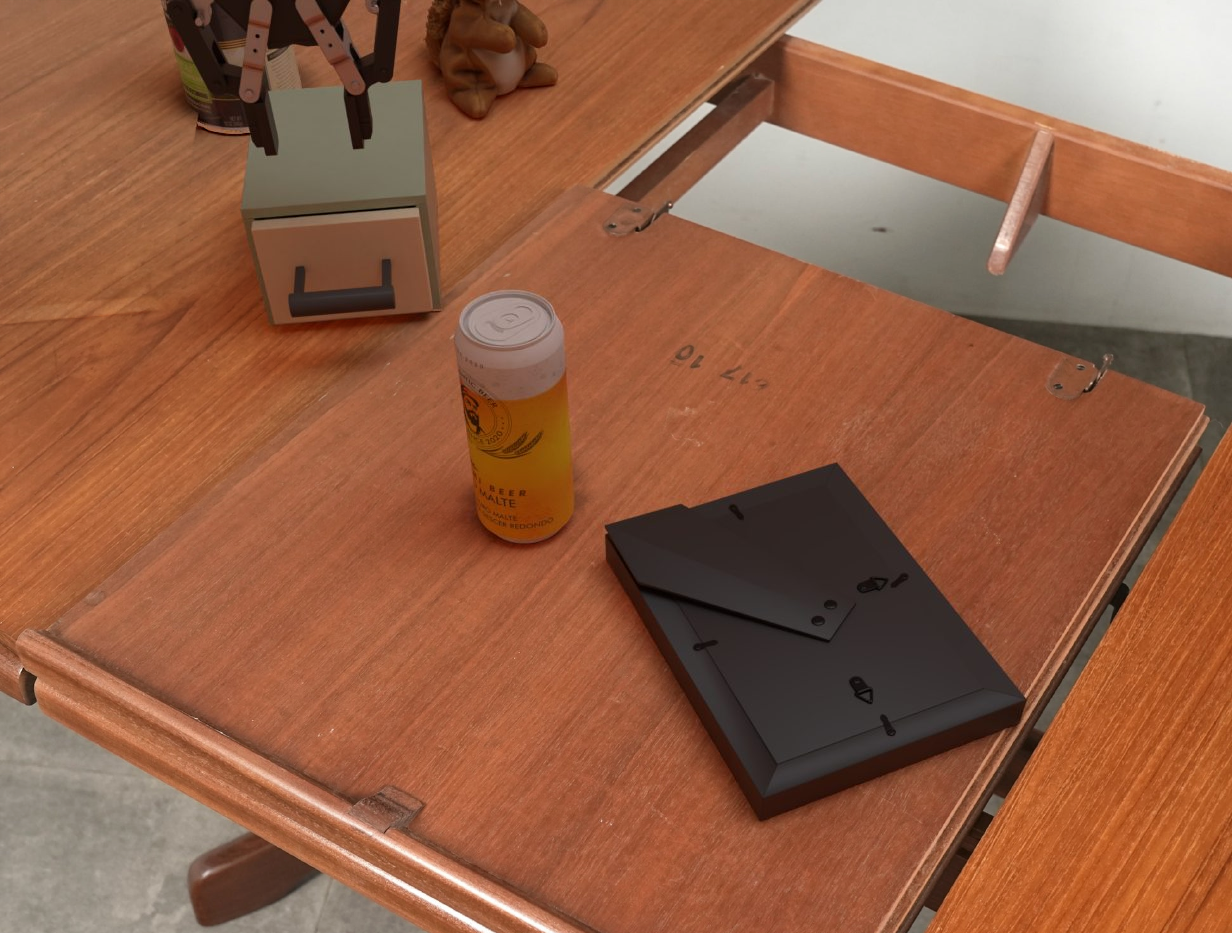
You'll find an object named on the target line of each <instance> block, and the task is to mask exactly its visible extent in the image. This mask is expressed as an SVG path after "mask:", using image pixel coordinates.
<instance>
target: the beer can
mask: <svg viewBox="0 0 1232 933" xmlns="http://www.w3.org/2000/svg"><path fill="white" fill-rule="evenodd" d="M453 342H454V348H455V357H456V364H457V371H458V378H459V379H458V380H459V385H460V386H459V387H460V393H461V400H462V409H463V415H464V422H465V423H464V424H465V430H466V438H467V444H468V445H467V446H468V453H469V460H470V466H471V467H470V468H471V472H472V482H473V489H474V496H475V503H476V512H477V517H478V518H479V521H480V523H481V524H482V525H483V526H484V528H486V529H487V530H488V531H490V532H491V533H493V534H494V535H495V536H497V537H499V538H500V539H502V540H504V541H507V542H510V543H515V544H533V543H538V542H542V541H544V540H547V539H550V538H551V537H553V536H554V535H556V534H557V533H558V532H559V531H560V530H561V529H562V528H563V527H565V525H566V524H568V522H569V521H570V519H571V518H572V515H573V514H574V512H575V488H574V476H573V475H574V474H573V473H574V472H573V459H572V458H573V457H572V442H571V425H570V410H569V408H570V407H569V395H568V394H569V392H568V380H567V379H568V378H567V362H566V344H565V330H564V326H563V324H562V322H561V320H560V319H559V318H558V316H557V314H556V311H555V309H554V307H553V305H552V304H551V303H550V301H549V300H547V299H546V298H544V297H543V296H542V295H539V294H536V293H534V292H531V291H527V290H520V289H501V290H494V291H491V292H487V293H484V294H482V295H480V296H478V297H475V298H474V299H472V300H471V301H470V302H468V303H467V304H466V305H465V306H464V307H463V309H462V311H461V313H460V315H459V319H458V324H457V326H456V328H455V332H454V335H453Z"/></svg>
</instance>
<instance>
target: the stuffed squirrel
mask: <svg viewBox="0 0 1232 933" xmlns="http://www.w3.org/2000/svg"><path fill="white" fill-rule="evenodd" d="M427 11H428V12H427V13H428V15H426V19H427V21H426V22H425V28H426V30H425V32H426V35H425V37H424V38H423V39H422V41H423V42H425V45H426V46H425V47H426V49H427V51H428V54H429V56H430V59H429V60H430V61H431V62H432V63H434V65H435V66H436V67H437V69H439V70H440V71H441V74H442V77H443V81H444V86H445V89H446V92H447V95H448V97H449V98H450V100H451V101H452V102H453V104H454V105H455V106H456V107H457V108H459V109H460V110H461V111H462V112H464V113H466V114H467V115H469V117H470V116H471V117H472V118H474V119H478V118H484V117H485V116H486V115H487V113H489V110H490V109H491V106H492V104H493V103H494V101H495V99H496V97H497V96H503V95H505V94H506V95H507V94H508V93H511V92H512V91H514V90H516V88H517V86H518V87H521V88H527V87H528V88H529V87H540V86H541V87H542V86H549V85H550V86H551V85H555V84H557V81H558V78H559V72H558V70H557V69H556V68H555V67H554V66H552V65H550V64H549V63H545V62H537V60H538V53H537V50H536V49H538V50H539V49H541V48H543V47H546V46H547V44H548V40H549V35H548V34H549V33H548V29H547V26H546V25H545V23H544V22H543V21H542V19H541V18H539V16H537V15H536V14H535V13H534V12H532V11H531V9H529V8H528V7H527V6H526V5H524V4H523V3H522V2H519V1H518V0H433V1H431V6H430V7H429V8H427Z"/></svg>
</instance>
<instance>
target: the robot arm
mask: <svg viewBox="0 0 1232 933" xmlns="http://www.w3.org/2000/svg"><path fill="white" fill-rule="evenodd" d="M350 1H351V0H168V4H167V13H168V15H169V17H170V19H171V21H172V23H173V24H174V26H175V28H176V30H177V32H178V34H179V36H180V38H181V39H182V41H183V43H184V45H185V47H186V49H187V51H188V53H189V55H190V56H191V58H192V60H193V62H194V64H195V66H196V68H197V70H198V71H199V73H200V75H201V77H202V79H203V81H204V83H205V85H206V87H207V88H208V90H209V91H210V92H211V93H212V94H215V95H222V94H224V93H227V94H231V95H234V96H236V97H238V98H239V99H240V100H241V101H242V103H243V106H244V110H245V114H246V118H247V123H248V127H249V131H250V134H249V136H250V135H251V139H252V142H253V143H254V145H255V146H256V147H257V148H261V147H264V151H265V155H266V156H275V155H278V147H279V140H278V133H277V129H276V124H275V120H274V115H273V111H272V106H271V102H270V97H269V93H268V88H267V86H263V84H262V75H263V69H264V62H265V56H266V49H267V47H268V50H269V49H281V48H284V47H287V46H290V45H296V46H303V47H319V49H320V51H321V52H322V54H323V55H324V57H325V59H326V60H327V63H328V64H329V65H330V66H332V67H333V68H334V70H335V72H336V74H337V76H338V77H339V79H340V82H342V85H344V103H345V108H346V114H347V119H348V125H349V131H350V136H351V142H352V147H353V150H356V149H364V140H367V139H371V136H372V132H373V119H372V113H371V107H370V100H369V94H368V89H369V87H370V86H372V85H373V84H375V83H387V82H392V79H393V77H394V70H395V62H396V61H395V60H396V53H397V42H398V33H399V25H400V24H399V23H400V16H401V15H400V14H401V8H402V7H401V5H402V0H364V1H365V2H364V3H365V8H366V10H367V11H368V12H369V13H370V14H372V15H375V16H376V23H375V34H374V42H373V52H370V53H369V54H366V55H364V56H361V54H360V53H359V51H358V48H357V47H356V45H355V44H354V42H353V39H352V36H351V33H350V30H349V29H348V27H347V25H346V23H345V22H344V20H343V18H342V17H343V15H344V13H345V11H346V9H347V8H348V5H349V3H350ZM213 2H215V3H216V4H217V5H218V6H219V7H220V8H222V9H223V10H224V11H225V12H226V13H227V14H228V15H229V16H230V17H231V18H232V19H233V20H234V21H235V22H236V23H237V24H238V25H239V26H240V27H241V28H242V29H243V30H244V31H245V32H246V33H247V37H246V44H245V52H244V59H243V66H242V67H240V66H236V65H232V64H229V63H228V61H227V59H226V57H225V55H224V53H223V51H222V49H221V47H220V45H219V43H218V41H217V39H216V37H215V35H214V33H213V31H212V29H211V28H210V26H209V23H210V20H211V14H212V9H211V6H210V5H211V3H213Z"/></svg>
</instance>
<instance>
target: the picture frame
mask: <svg viewBox="0 0 1232 933" xmlns="http://www.w3.org/2000/svg"><path fill="white" fill-rule="evenodd" d="M604 529H605V531H606V533H605V534H604V546H605V559H606V561H607V563H608V564H609V566H610V568H611V569H612V571H613V573H614V574H615V576H616V578H617V580H618V581H619V583H620V585H621V586H622V588H623V590H624V592H625V593H626V595H627V596H628V598H629V600H630V602H631V603H632V605H633V607H634V608H635V610H636V612H637V614H638V615H639V617H640V620H642V622H643V624H644V626H645V627H646V629H647V630H648V632H649V634H650V636H651V637H652V639H653V641H654V642H655V645H656V646H657V647H658V650H659V651H660V653H661V655H662V656H663V658H664V659H665V661H666V663H667V665H668V666H669V668H670V670H671V671H672V673H673V675H674V677H675V679H676V680H677V682H678V684H679V685H680V687H681V689H682V691H683V692H684V693H685V695H686V697H687V699H688V701H689V702H690V704H691V705H692V708H693V709H694V711H695V713H696V714H697V716H698V718H699V719H700V721H701V723H702V724H703V727H704V729H705V730H706V731H707V733H708V735H709V736H710V738H711V740H712V741H713V743H714V745H715V746H716V748H717V750H718V751H719V753H720V755H721V757H722V759H723V760H724V762H725V763H726V765H727V767H728V768H729V770H730V772H731V774H732V776H733V777H734V779H735V781H736V782H737V784H738V786H739V787H740V790H741V791H742V793H743V795H744V796H745V798H746V800H747V802H748V803H749V804H750V806H751V808H752V809H753V811H754V813H755V815H756V817H757V819H758V820H759V821H760V822H763V821H765V820H767V819H770V818H773V817H775V816H777V815H780V814H783V813H785V812H788V811H791V810H794V809H797V808H799V807H802V806H804V805H808V804H809V803H812V802H815V801H818V800H820V799H823V798H826V797H829V796H831V795H833V794H836V793H839V792H841V791H844V790H847V789H850V788H852V787H854V786H858V785H860V784H862V783H865V782H868V781H870V780H874V779H876V778H878V777H881V776H883V775H886V774H889V773H891V772H895V771H897V770H899V769H903V768H905V767H907V766H910V765H912V764H916V763H918V762H921V761H923V760H927V759H929V758H931V757H934V756H937V755H939V754H942V753H944V752H948V751H949V750H953V749H955V748H958V747H960V746H962V745H965V744H968V743H971V742H974V741H976V740H978V739H982V738H984V737H987V736H990V735H992V734H996V733H997V732H1000V731H1003V730H1006V729H1008V728H1011V727H1013V726H1016V725H1018V724H1020V723H1021V720H1022V717H1023V714H1024V711H1025V707H1026V704H1027V701H1028V698H1026V696H1025V695H1024V694H1023V693H1022V691H1021V690H1020V688H1018V687H1017V684H1015V683H1014V681H1013V680H1012V679H1011V678H1010V676H1009V675H1008V674H1007V673H1006V671H1005V670H1004V669H1003V668H1002V667H1001V665H1000V663H998V661H997V660H996V659H995V657H993V655H992V654H991V652H990V651H989V650H988V648H986V646H985V645H984V643H983V642H982V641H981V640H980V639H979V638H978V636H976V634H975V632H973V630H972V629H971V627H970V626H969V625H968V624H967V623H966V621H965V620H964V618H962V616H961V615H960V614H959V613H958V611H957V610H956V609H955V608H954V607H953V605H952V604H951V603H950V601H949V600H948V599H947V598H946V596H945V595H944V594H943V593H942V592H941V590H940V589H939V588H938V587H937V585H936V584H935V583H934V581H933V580H932V579H931V578H930V576H929V575H928V574H927V573H926V571H925V570H924V569H923V568H922V567H921V565H920V564H919V563H918V562H917V560H916V559H915V558H914V556H912V553H910V552H909V550H908V549H907V548H906V547H905V545H904V544H903V543H902V541H901V540H900V538H898V536H897V535H896V534H895V533H894V531H893V530H892V529H891V528H890V526H889V525H888V524H887V522H886V521H885V520H884V519H883V518H882V516H881V515H880V513H878V512H877V510H876V509H875V508H874V506H873V505H872V504H871V503H870V502H869V500H868V499H867V498H866V496H865V495H864V494H863V493H862V491H861V490H860V489H859V488H858V486H857V485H856V484H855V482H854V481H853V480H852V479H851V478H850V476H849V475H848V474H847V473H846V471H844V469H843V468H842V467H841V465H840V464H839V463H838V462H837V461H836V462H832V463H829V464H826V465H823V466H819V467H816V468H813V469H810V470H807V471H804V472H801V473H797V474H794V475H791V476H788V477H785V478H781V479H778V480H775V481H771V482H768V483H764V484H762V485H759V486H755V487H752V488H749V489H746V490H742V491H740V492H736V493H733V494H730V495H726V496H724V497H720V498H717V499H714V500H711V501H707V502H704V503H701V504H698V505H695V506H691V507H688V506H687V505H684V504H682V503H679V504H675V505H671V506H667V507H663V508H660V509H657V510H653V511H650V512H646V513H643V514H639V515H636V516H633V517H628V518H624V519H622V520H618V521H615V522H610V523H608V524H604Z"/></svg>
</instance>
